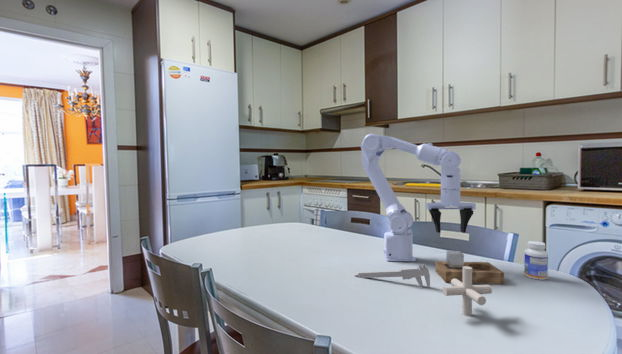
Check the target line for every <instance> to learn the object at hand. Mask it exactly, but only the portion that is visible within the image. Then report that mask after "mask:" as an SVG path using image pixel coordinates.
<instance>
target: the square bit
mask: <svg viewBox="0 0 622 354" xmlns="http://www.w3.org/2000/svg"><path fill="white" fill-rule="evenodd" d="M445 256H446V261H445V262H446V267H447V268H448V269H462V270H463V266H464V262H465V260H464V259H465V255H464V253H463V252H461V250H446V255H445Z"/></svg>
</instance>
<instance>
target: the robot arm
mask: <svg viewBox="0 0 622 354" xmlns="http://www.w3.org/2000/svg"><path fill="white" fill-rule="evenodd" d="M433 144H434V143H432V142H428V143H426V142H425V143H422V144H419V145H417V144H414V143H412V142H409V141H405V140H403V139H400V138H396V137H394V136H389V135H381V134H375V133H368V134H366V135H365V136H364V138H363V140H362V142H361V143H360V149H361V166H362V168H363V169H364V171H365V173H366V175H367V177H368V179H369V180H370V183H371V184H372V186H373V189H374V190H375V192H376V194H377V195H378V197H379V199H380V201H381V202H382V205H383V206H384V208H385V209H386V212H385V213H386V217H387V219H388V224H389V228H390V231H386V232H384V234H383V256H384V258H385V259H386V261H387V262H417V260H416V258H415V257H414V256H413V235H414V234H413V230H412V228H411V227H412V226H413V224H414V217H413V215H412V214H411V213H410V212H408V211H407V210H406V208H405V207H404V205H403V204H402V203H400V201H399V200H398V196H396V194H395V192H394V190H393V188H392V186H391V185H390V183H389V182H388V180H387V178H386V175H385V174H384V172H383V171H382V169H381V167H380V165H379V161H380V158H381V155H383V153H384V152H385V151H386V150H391V149H395V150H399V151H401V152H404V153H410V154H413V155H415V156H416V158H417V161H421V162H424V163H427V164H430V165H433V166H435V167H436V166H437V167H438V166H441V167H440V168H441V170H440V171H441V174H440V202H425V208H426V209H425V210H427V211H428V212H429V214H430V216H431V219H432V220H433V224H434V228H435V232H437V233H439V234H441V219H442V218H441V217H442V212H441V211H440V210H459V217H460V232H461V233H463V234H465V233H466V232H467V227H468V224H469V222H470V219H472V216H473V215H474V210H476V209H477V207H476V203H475V202H461V174H460V173H461V168H460V167H459V166H460V165H461V163H462V162H461V161H462V158H461V156H460V155H459V153H457V152H455V151H453V150H452V151H451V150H450V151H448V148H447V147H443V148H442V147H439V146H435V145H433Z"/></svg>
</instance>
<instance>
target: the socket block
mask: <svg viewBox="0 0 622 354" xmlns="http://www.w3.org/2000/svg"><path fill="white" fill-rule="evenodd" d="M464 266H468V267H471V268H472V284H489V285H490V284H491V285H492V284H495V285H496V284H498V285H499V284H502V285H505V272H504V271H502V270H501V269H499V268H498V267H497V266H495V265H493V264H492V263H490V262H488V261H486V262H485V261H464ZM435 272H436V274H437V275H438V276H439V277H440V278H441V279H442V280H443V281H444V282H445V284H446V283H448V284H451V280H452V279H454V278H456V279H458V280H459V281H461V282H462V283H463V270H462V269H448V268H447V267H446V261H438V260H437V261H435Z"/></svg>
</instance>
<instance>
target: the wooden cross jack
mask: <svg viewBox="0 0 622 354" xmlns="http://www.w3.org/2000/svg"><path fill="white" fill-rule="evenodd" d="M450 284H451V286H443V287H442V288H441V289H442V294H443V295H444V296H445V297H449V296H450V297H451V296H462V301H461V303H462V305H461V306H462V307H461V309H462V314H463V315H464V316H468V317H470V316H473V315H472V314H473V313H472V312H473V301H474V303H476V304H477V305H479V306H485V304H486V302H487V298H486V297H485V296H484V295H489V294H490V295H491V294H492V292H493V289H492V286H491V285H490V284H479V285H478V284H477V285H476V284H475V285H474V284H473V283H472V268H471V267H468V266H463V283H462V282H461V281H459V280H458V279H456V278H454V279H452V280H451V283H450Z"/></svg>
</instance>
